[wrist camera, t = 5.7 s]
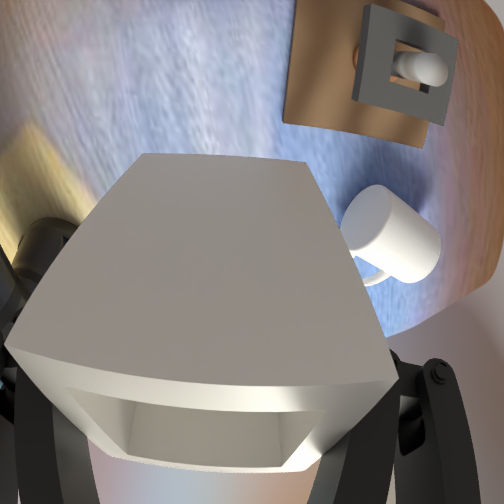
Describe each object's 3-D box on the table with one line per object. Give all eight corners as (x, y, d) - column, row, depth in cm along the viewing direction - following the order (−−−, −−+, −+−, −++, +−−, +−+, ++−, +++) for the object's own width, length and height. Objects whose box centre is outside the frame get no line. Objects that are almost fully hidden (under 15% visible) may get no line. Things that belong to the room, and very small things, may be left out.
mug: (372, 172, 31) (402, 205, 25) (422, 213, 34) (452, 249, 28) (312, 247, 37) (325, 292, 31) (366, 276, 40) (384, 317, 34)
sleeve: (155, 277, 16) (109, 455, 8) (142, 153, 12) (3, 344, 4) (282, 285, 16) (304, 470, 8) (305, 162, 12) (399, 378, 4)
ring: (351, 99, 20) (357, 102, 18) (363, 6, 15) (371, 3, 14) (434, 121, 20) (443, 126, 19) (448, 39, 15) (458, 39, 14)
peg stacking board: (282, 120, 28) (303, 158, 18) (298, -24, 18) (330, -68, 9) (417, 145, 29) (481, 192, 19) (439, 20, 20) (515, 22, 10)
